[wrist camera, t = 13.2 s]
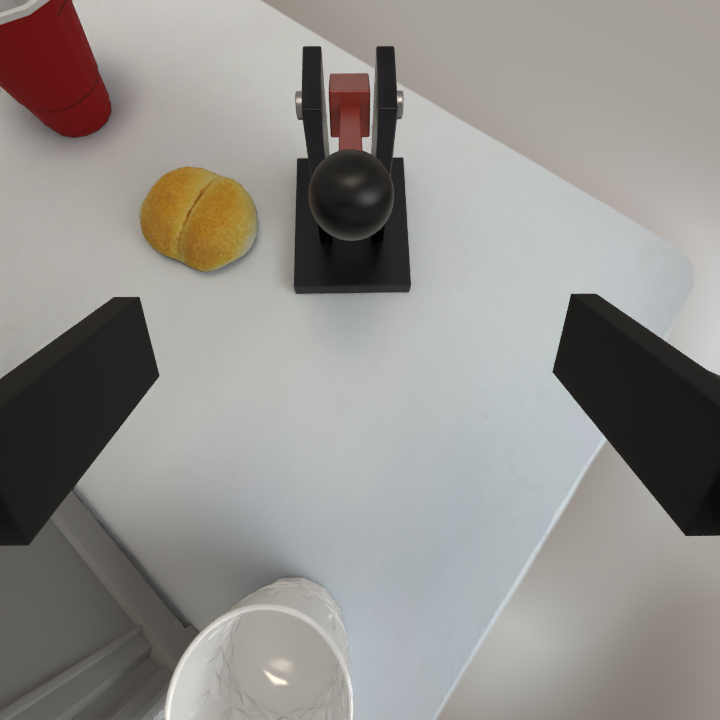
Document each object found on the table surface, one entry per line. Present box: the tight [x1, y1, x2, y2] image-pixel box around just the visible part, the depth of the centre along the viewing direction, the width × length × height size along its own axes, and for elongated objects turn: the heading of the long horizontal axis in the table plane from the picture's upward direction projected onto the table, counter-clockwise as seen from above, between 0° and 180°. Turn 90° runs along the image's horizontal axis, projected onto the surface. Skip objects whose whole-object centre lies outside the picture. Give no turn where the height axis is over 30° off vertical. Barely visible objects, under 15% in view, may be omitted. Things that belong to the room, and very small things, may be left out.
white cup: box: [164, 577, 353, 720], centre depth 23 cm, size 8×8×10 cm
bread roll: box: [139, 167, 258, 272], centre depth 34 cm, size 8×9×4 cm
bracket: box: [294, 46, 411, 294], centre depth 30 cm, size 12×9×14 cm
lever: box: [309, 73, 394, 241], centre depth 21 cm, size 13×4×4 cm, turn 1°
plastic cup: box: [0, 0, 111, 137], centre depth 34 cm, size 11×11×12 cm
